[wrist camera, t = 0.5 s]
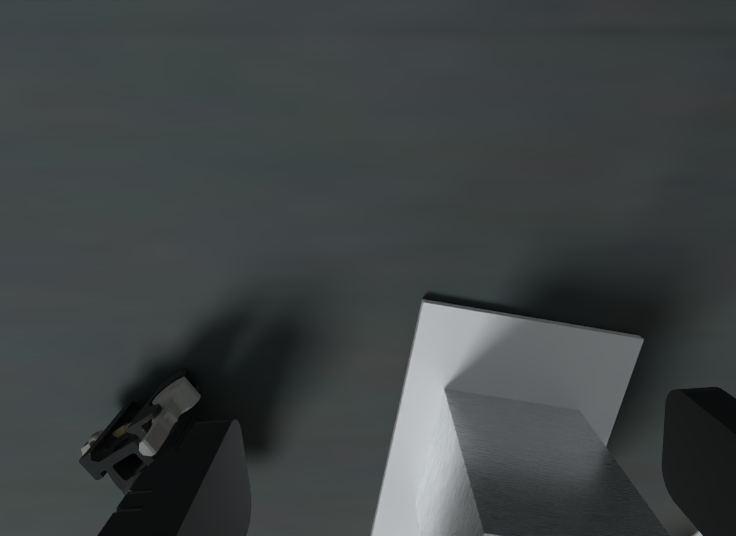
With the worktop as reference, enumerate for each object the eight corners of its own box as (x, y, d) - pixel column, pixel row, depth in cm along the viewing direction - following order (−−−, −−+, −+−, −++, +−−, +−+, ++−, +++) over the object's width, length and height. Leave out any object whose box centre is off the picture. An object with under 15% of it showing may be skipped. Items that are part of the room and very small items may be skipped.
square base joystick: (443, 388, 33) (484, 533, 22) (579, 410, 34) (689, 563, 22) (415, 503, 36) (438, 688, 24) (542, 522, 36) (624, 713, 25)
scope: (82, 521, 20) (238, 681, 22) (196, 359, 33) (286, 470, 36) (-69, 609, 21) (94, 752, 24) (99, 419, 35) (193, 523, 37)
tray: (422, 298, 32) (423, 302, 32) (639, 335, 33) (644, 339, 32) (365, 555, 38) (365, 561, 37) (552, 581, 38) (555, 588, 38)
